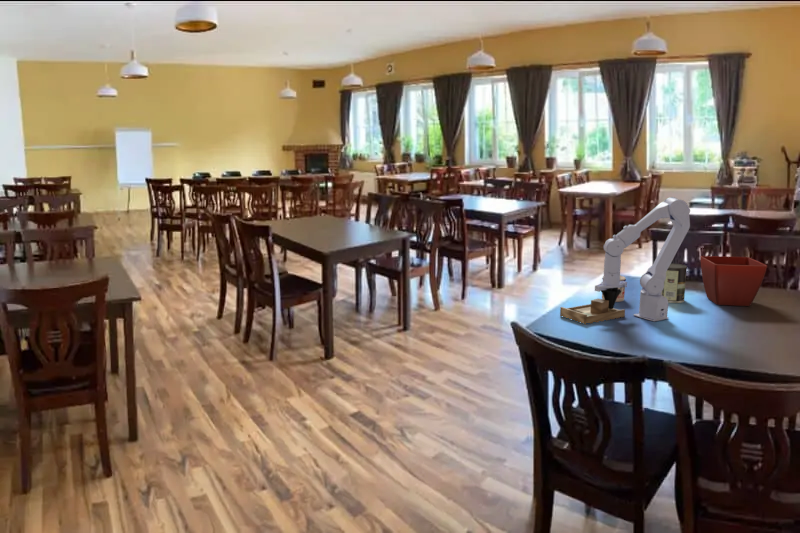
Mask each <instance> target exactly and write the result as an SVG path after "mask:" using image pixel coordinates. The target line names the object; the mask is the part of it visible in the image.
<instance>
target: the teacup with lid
mask: <svg viewBox="0 0 800 533" xmlns="http://www.w3.org/2000/svg"><path fill="white" fill-rule="evenodd" d="M603 277H604V275H603V276H602V278H601V279H602V280H603ZM620 281H625V282H627V279H626V277H625V276H623V275H621V274H620ZM618 289H620V290H621V292H620V294H619V295H618V297H617V299H616V301H615V303H619V302H620V303H621V302H624V301H625V293H626V287H620V288H618ZM601 299H603V300H605V299H604V296H603V294H602V293H601Z"/></svg>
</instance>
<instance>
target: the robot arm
mask: <svg viewBox="0 0 800 533" xmlns="http://www.w3.org/2000/svg"><path fill="white" fill-rule="evenodd" d="M690 212H691V209H690V207H689V205H688V203H687V202H686V201H685V200H684V199H680V198H679V199H678V198H677V197H675V196H674V197H673V196H670V197H668V198H666V199H665V200H663V201H660V203H659V204H657V205H656V206H655V207H654V208H652V210H651V211H649V212H648V213H647V214H646V215H645V216H643V217H642V218H641V219H640V220H638V221H637V222H636V223H635V224H628V225H624V226H622V227H623V229H621V231H619V232H617V234H613V235H612V238H608V239H607V240H605V243H604V244H603V251H604V252H605V253H604V259H603V260H604V262H603V276H604V277H603V276H602V278H603V279H602V281H601V283H599V284H596V285H594V291H595V292H601V295H602V294H603V296H604V299H605V300H608V301H609V309H613V308H614V306H615V304H616V302H615V301H616V299H617V297H618V295H619V294H620V292H621V290H620V289H618V288H620V287H625V288H628V282H627V281H620V275H621V266H622V264H621V263H622V255H623V253H624V250H625V249H626V248H628V247H629V246H630V245H631V244H633V243H634V242H635V241H636V240H638V239H639V238H641V234H642V232H643V231H644V230H646V229H647V228H649V227H650V226H651V225H653V224H654V223H656V222H657V221H658V220H660V219H668V218H669V220H670V221H671V224H672V228H671V229H670V232H669V233H668V235H667V237H666V239H665V241H664V243H663V245H662V246H661V248H660V250H659V253H658V255H656V258H655V260H654V261H653V263H652V265H651V266H650V267H649V268H648V269H647V270H646V272H645V273H643V274H642V275H641V277H640V278H639V285H640V286H641V287H642V288H641V289H640V294H639V306H638V307H639V310H638V313H633V316H634V317H638V318H641V319H645V320H648V321H650V322H658V321H663V320H668V319H669V316H668V310H669V303H668V299H667V298H666V297H664V296H662V290H663V288H664V281H665V279H666V271H667V269H668V267H669V266H670V264H671V263H672V262H673V260H674V258H675V257H676V254H677V252H678V250H679V249H680V247H681V244H682V243H683V241H684V240H685V238H686V236H687V234H688V232H689V229H690V228H691V220H690Z"/></svg>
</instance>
